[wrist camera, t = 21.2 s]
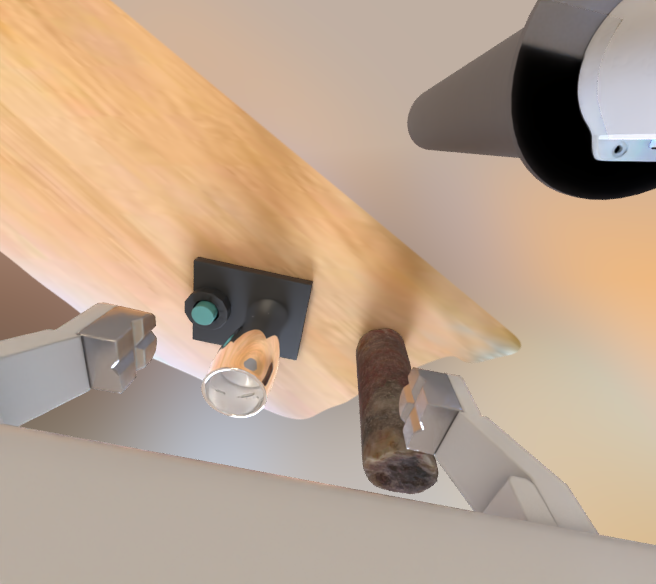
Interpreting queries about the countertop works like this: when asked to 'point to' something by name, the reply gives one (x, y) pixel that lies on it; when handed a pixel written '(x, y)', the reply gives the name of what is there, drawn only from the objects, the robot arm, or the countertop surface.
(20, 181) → the countertop surface
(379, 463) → the candle
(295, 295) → the scale
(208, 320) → the button
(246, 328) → the beer glass
